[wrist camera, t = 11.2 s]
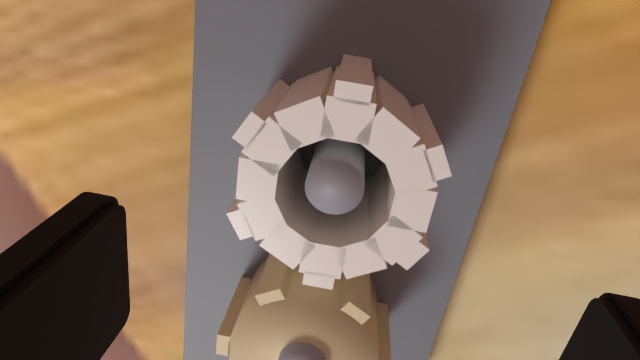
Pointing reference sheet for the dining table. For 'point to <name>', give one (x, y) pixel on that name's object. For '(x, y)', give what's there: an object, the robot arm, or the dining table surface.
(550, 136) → the dining table surface
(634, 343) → the robot arm
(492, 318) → the dining table surface
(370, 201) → the loose gear
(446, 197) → the gear board
